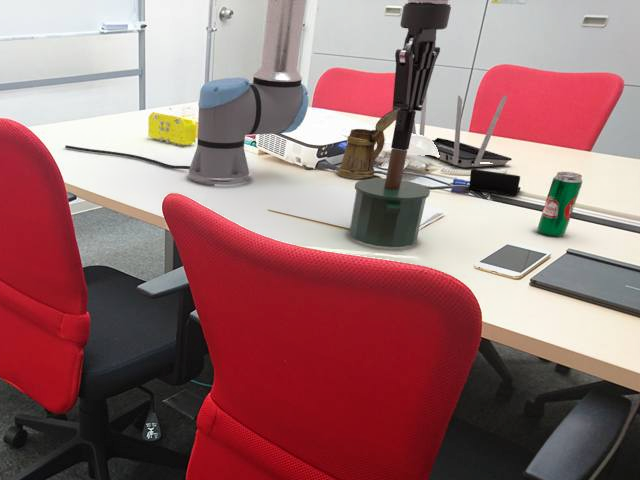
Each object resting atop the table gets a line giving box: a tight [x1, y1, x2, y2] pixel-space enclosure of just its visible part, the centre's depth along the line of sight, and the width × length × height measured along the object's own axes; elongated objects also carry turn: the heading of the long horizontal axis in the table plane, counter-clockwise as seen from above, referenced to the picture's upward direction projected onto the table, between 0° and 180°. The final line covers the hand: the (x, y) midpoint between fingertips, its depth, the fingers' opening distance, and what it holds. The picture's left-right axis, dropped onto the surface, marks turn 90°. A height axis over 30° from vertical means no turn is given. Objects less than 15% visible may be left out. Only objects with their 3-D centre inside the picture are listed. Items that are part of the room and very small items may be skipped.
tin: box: [348, 190, 427, 248], centre depth 126 cm, size 13×18×10 cm
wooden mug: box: [337, 109, 398, 180], centre depth 166 cm, size 9×14×18 cm, turn 36°
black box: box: [468, 168, 521, 197], centre depth 159 cm, size 12×7×10 cm
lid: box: [354, 148, 431, 201], centre depth 122 cm, size 14×14×8 cm
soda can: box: [536, 171, 583, 238], centre depth 130 cm, size 5×5×12 cm
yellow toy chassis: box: [147, 111, 197, 147], centre depth 202 cm, size 16×6×8 cm, turn 43°
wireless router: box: [412, 91, 513, 168], centre depth 185 cm, size 34×23×20 cm
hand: (399, 148), depth 120 cm, fingers closed
